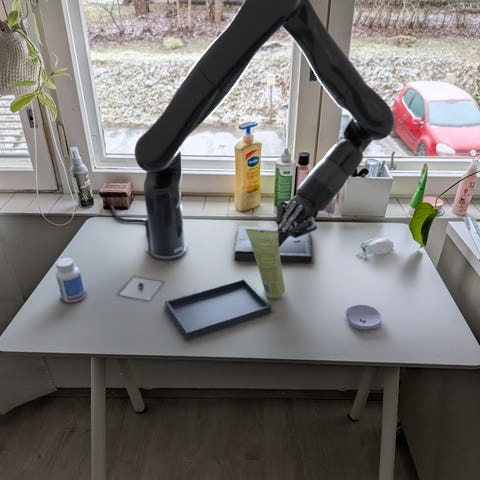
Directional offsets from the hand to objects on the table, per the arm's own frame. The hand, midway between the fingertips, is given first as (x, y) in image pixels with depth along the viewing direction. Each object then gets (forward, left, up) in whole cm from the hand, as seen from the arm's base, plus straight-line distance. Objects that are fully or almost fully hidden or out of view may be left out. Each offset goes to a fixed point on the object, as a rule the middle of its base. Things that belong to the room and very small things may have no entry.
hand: (272, 245), depth 114 cm
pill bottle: (-41, -25, -14) cm, 50 cm away
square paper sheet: (-29, -14, -14) cm, 35 cm away
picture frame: (-10, +21, -14) cm, 28 cm away
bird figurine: (+16, +32, -14) cm, 39 cm away
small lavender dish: (+23, +1, -14) cm, 27 cm away
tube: (+1, +1, -13) cm, 13 cm away
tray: (-8, -11, -14) cm, 20 cm away
